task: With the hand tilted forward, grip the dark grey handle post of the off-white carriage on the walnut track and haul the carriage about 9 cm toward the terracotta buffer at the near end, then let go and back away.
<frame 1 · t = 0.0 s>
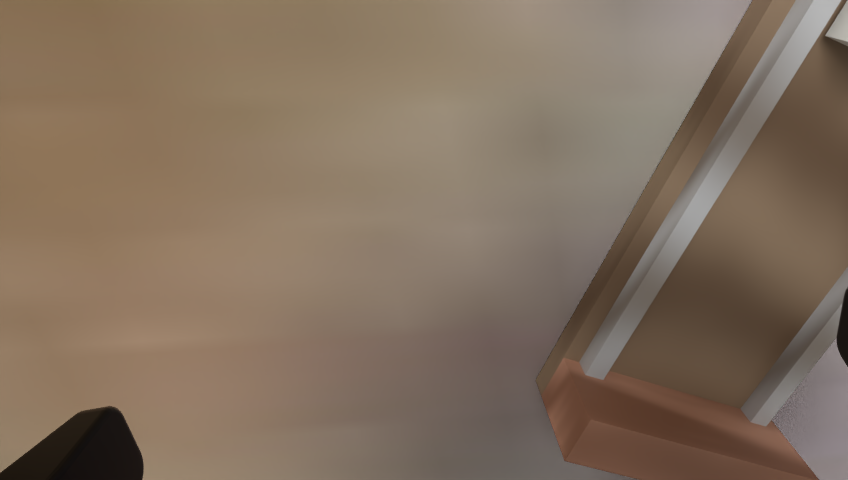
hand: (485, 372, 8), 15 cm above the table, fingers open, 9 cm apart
track: (801, 163, 23), on the table
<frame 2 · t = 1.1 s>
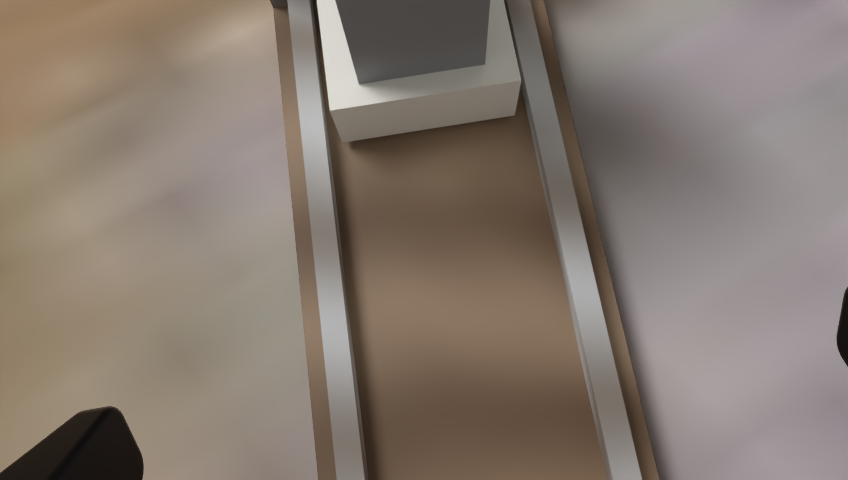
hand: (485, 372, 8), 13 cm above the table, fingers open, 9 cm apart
track: (446, 246, 22), on the table
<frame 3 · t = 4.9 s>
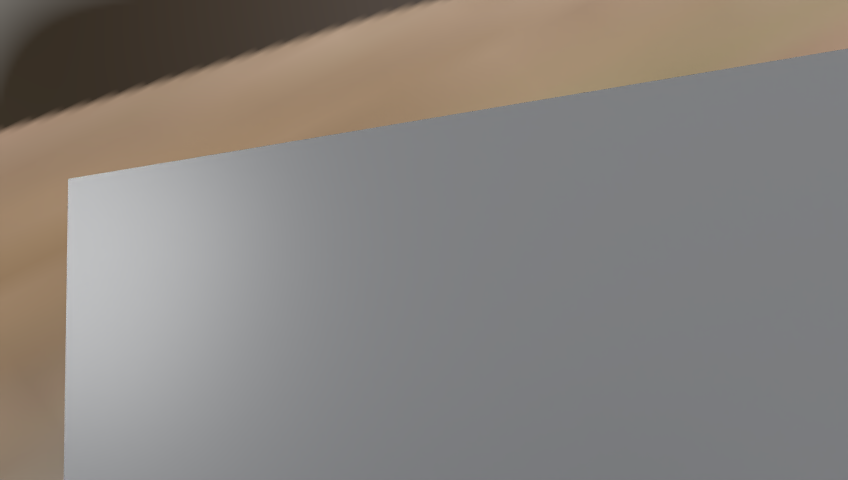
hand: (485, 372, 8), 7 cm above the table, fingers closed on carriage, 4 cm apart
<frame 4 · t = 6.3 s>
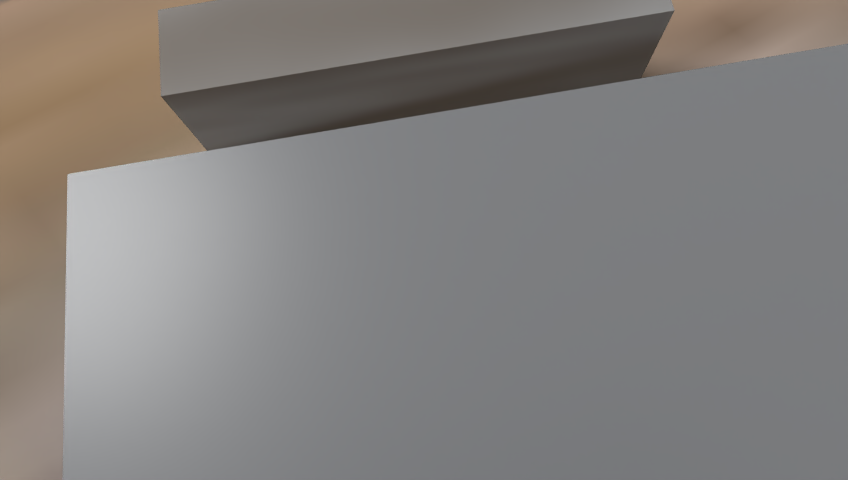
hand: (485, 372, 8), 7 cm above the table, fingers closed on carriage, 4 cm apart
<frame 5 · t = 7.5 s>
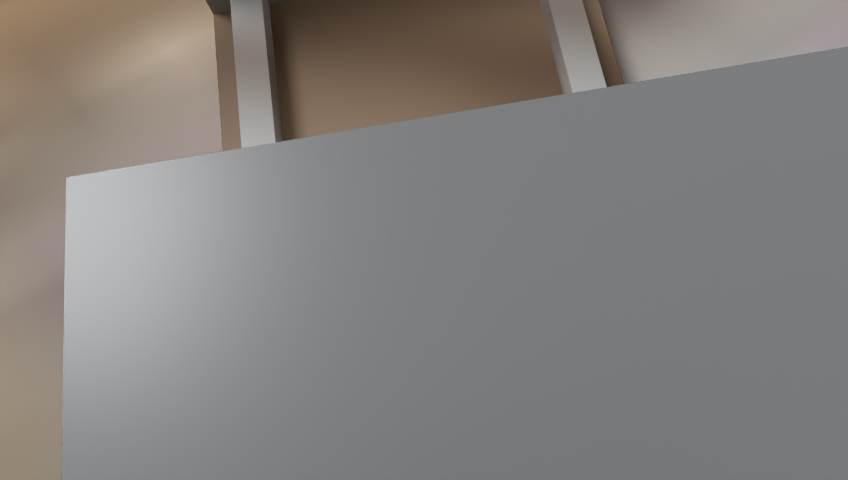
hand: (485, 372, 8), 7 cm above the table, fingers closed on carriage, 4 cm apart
track: (465, 362, 15), on the table
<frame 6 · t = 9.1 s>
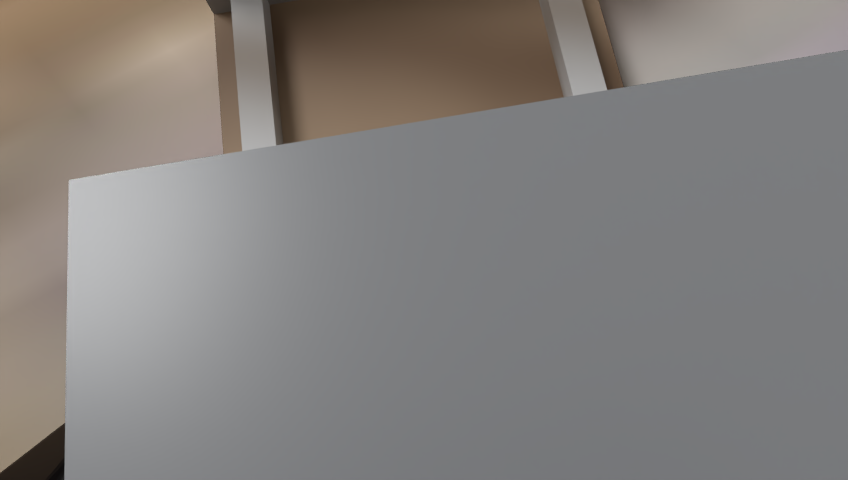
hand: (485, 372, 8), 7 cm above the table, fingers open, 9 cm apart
track: (465, 362, 15), on the table
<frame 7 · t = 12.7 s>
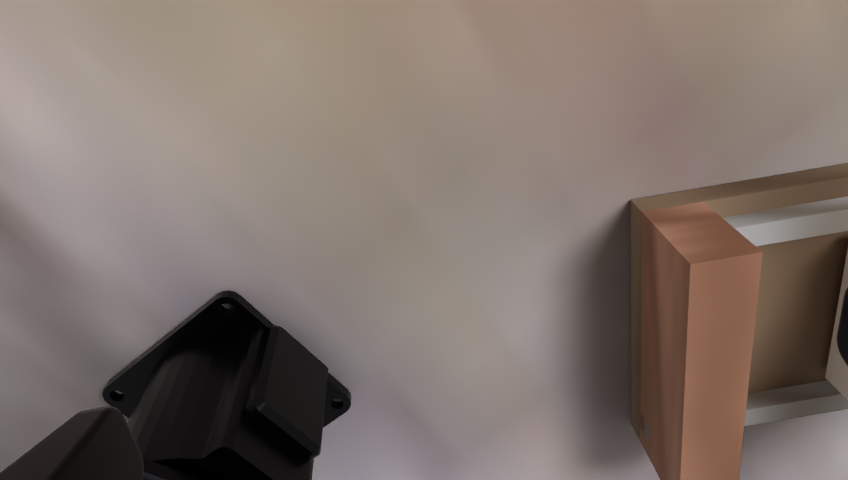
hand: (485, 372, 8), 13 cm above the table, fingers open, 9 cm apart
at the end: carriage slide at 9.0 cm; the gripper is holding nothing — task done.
